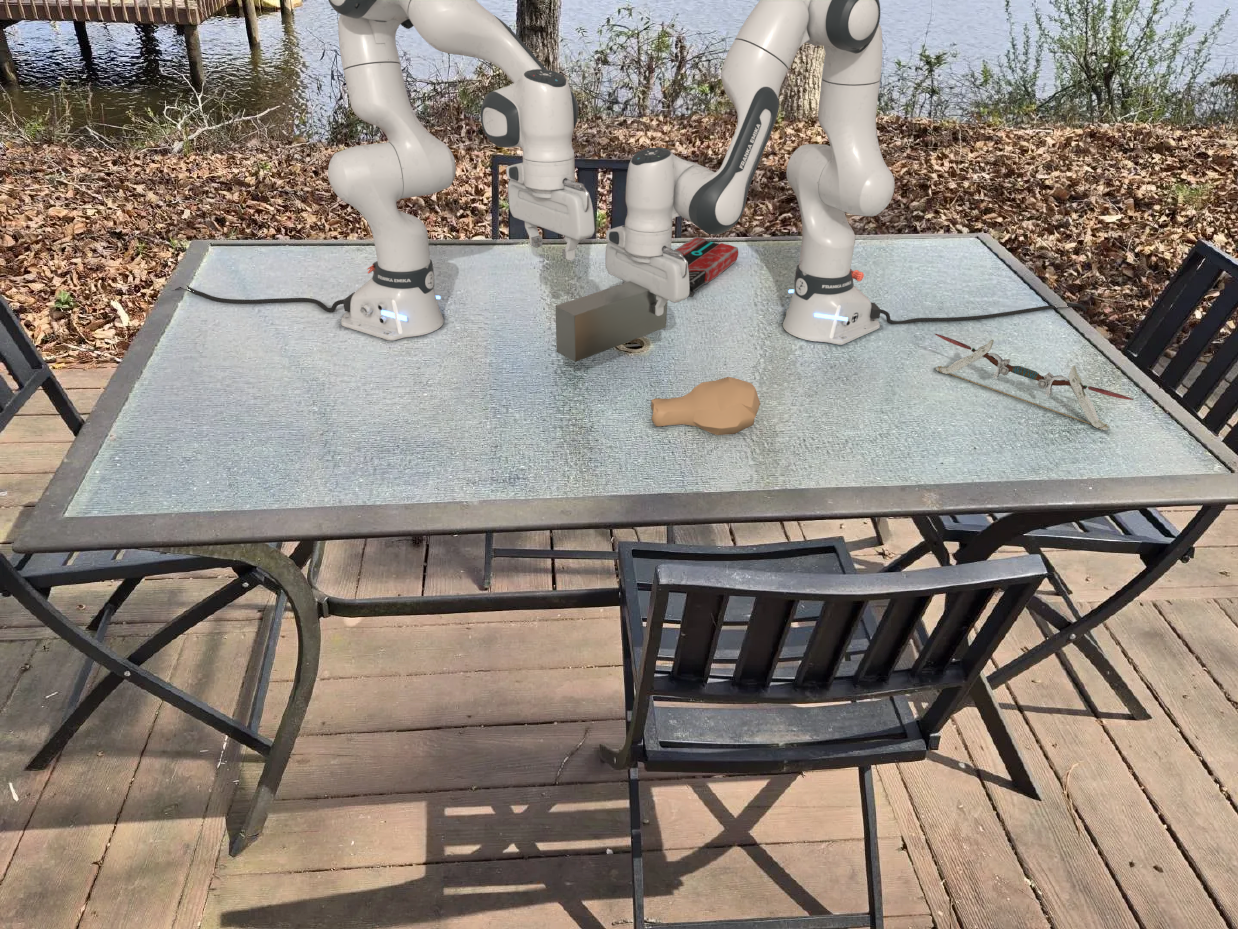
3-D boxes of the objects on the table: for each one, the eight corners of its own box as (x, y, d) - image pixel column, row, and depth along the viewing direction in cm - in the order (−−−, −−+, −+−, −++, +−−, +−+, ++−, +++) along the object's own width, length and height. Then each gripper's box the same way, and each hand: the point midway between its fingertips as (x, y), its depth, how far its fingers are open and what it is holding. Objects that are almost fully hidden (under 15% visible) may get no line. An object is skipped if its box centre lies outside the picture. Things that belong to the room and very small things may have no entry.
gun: (618, 266, 215) (688, 285, 207) (677, 229, 237) (743, 245, 229) (618, 283, 218) (687, 302, 210) (676, 245, 240) (741, 261, 232)
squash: (764, 441, 158) (764, 403, 152) (653, 450, 160) (649, 412, 153) (757, 403, 166) (757, 365, 160) (652, 411, 167) (648, 374, 161)
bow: (1121, 432, 163) (1140, 385, 158) (1118, 436, 162) (1137, 389, 157) (928, 364, 185) (939, 321, 179) (924, 367, 184) (935, 323, 178)
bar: (575, 362, 161) (574, 315, 156) (556, 351, 164) (555, 305, 159) (666, 327, 174) (668, 283, 169) (647, 318, 177) (648, 274, 172)
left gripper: (602, 182, 146) (603, 262, 153) (528, 160, 159) (532, 236, 166) (573, 188, 142) (575, 270, 150) (500, 166, 155) (505, 243, 163)
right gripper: (699, 251, 159) (694, 321, 167) (624, 222, 172) (622, 288, 180) (675, 259, 156) (671, 330, 164) (600, 229, 168) (599, 296, 176)
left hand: (552, 252), depth 158 cm, fingers open, 8 cm apart
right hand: (645, 308), depth 172 cm, fingers closed on bar, 5 cm apart
